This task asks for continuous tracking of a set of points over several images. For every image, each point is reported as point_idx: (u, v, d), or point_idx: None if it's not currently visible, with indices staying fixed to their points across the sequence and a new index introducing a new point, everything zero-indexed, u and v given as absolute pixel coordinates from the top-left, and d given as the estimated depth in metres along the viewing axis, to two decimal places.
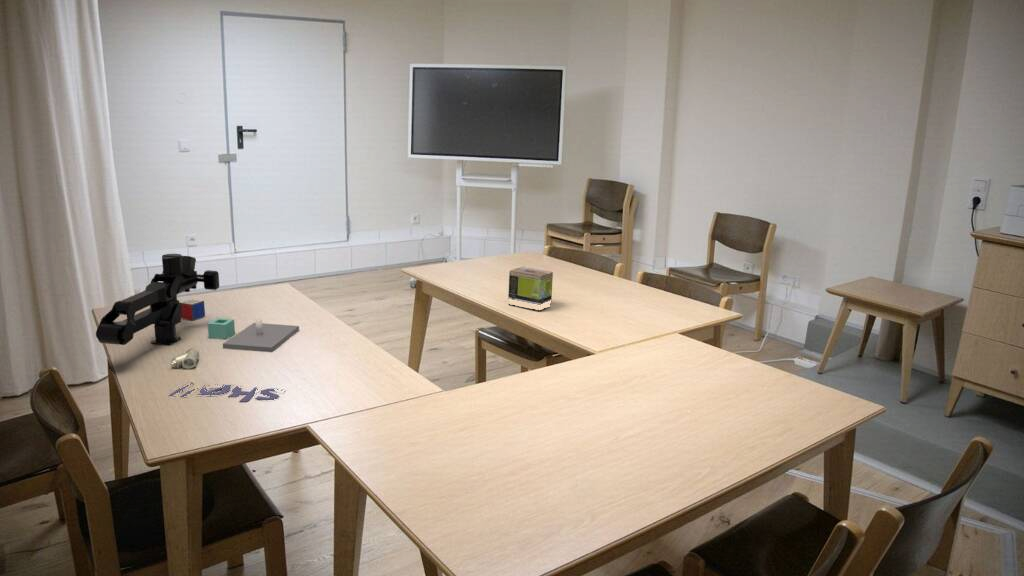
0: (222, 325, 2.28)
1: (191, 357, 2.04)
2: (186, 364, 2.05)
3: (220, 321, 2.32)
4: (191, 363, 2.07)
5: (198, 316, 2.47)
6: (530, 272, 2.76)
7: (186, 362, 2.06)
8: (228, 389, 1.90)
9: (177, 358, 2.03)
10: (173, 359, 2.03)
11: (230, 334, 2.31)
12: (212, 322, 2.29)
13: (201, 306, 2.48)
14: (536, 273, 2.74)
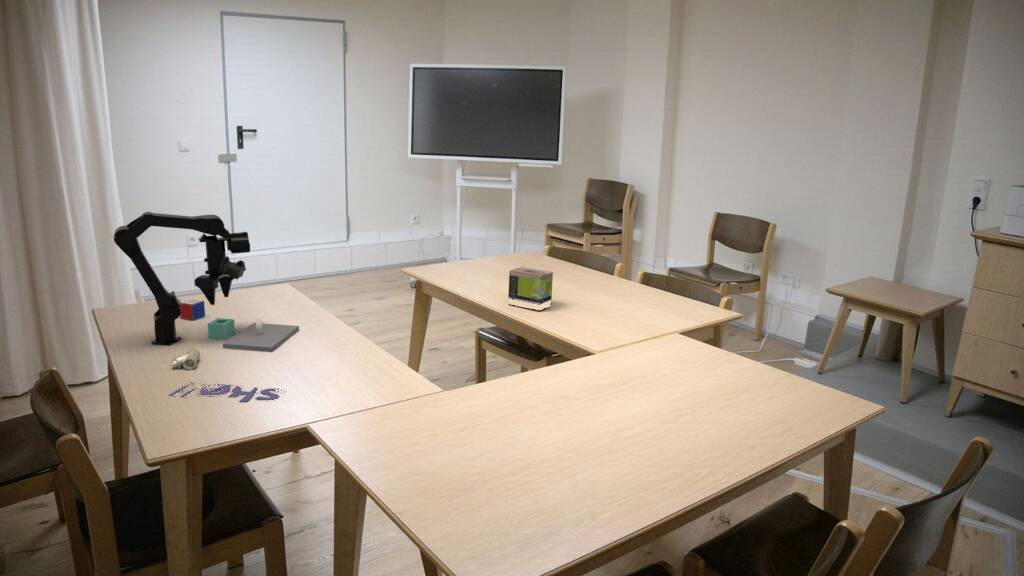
0: (222, 325, 2.28)
1: (192, 357, 2.03)
2: (187, 364, 2.04)
3: (220, 321, 2.32)
4: (192, 363, 2.06)
5: (198, 316, 2.47)
6: (530, 272, 2.76)
7: (187, 362, 2.05)
8: (228, 389, 1.90)
9: (178, 359, 2.03)
10: (174, 360, 2.03)
11: (230, 334, 2.31)
12: (212, 322, 2.29)
13: (201, 306, 2.48)
14: (536, 273, 2.74)
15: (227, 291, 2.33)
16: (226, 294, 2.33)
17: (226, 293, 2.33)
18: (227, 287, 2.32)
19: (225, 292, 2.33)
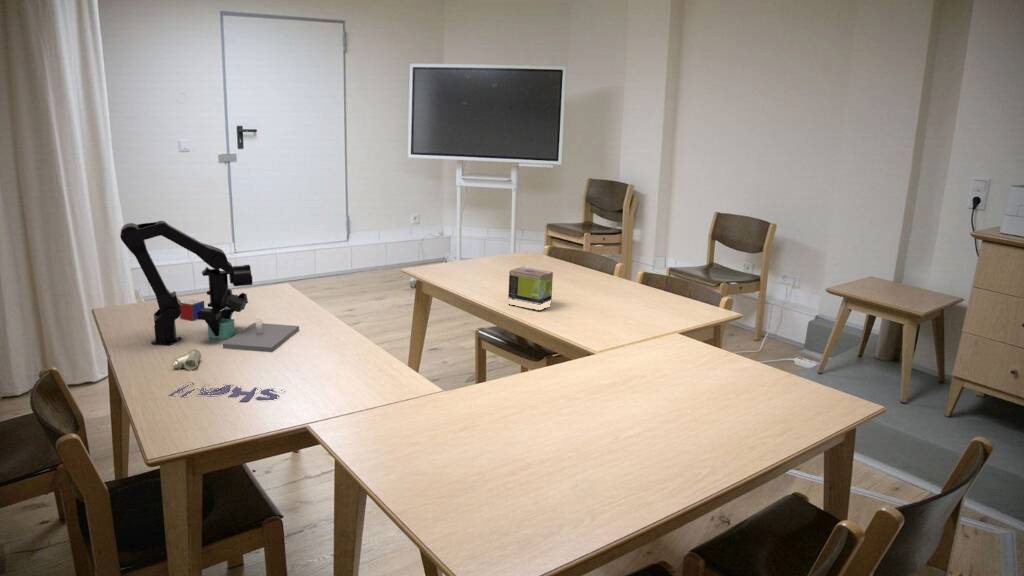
0: (222, 325, 2.28)
1: (193, 358, 2.03)
2: (188, 365, 2.04)
3: (220, 321, 2.32)
4: (193, 364, 2.06)
5: None
6: (530, 272, 2.76)
7: (188, 363, 2.05)
8: (228, 389, 1.90)
9: (179, 359, 2.03)
10: (175, 360, 2.03)
11: (230, 334, 2.31)
12: None
13: (201, 306, 2.48)
14: (536, 273, 2.74)
15: None
16: None
17: None
18: None
19: None
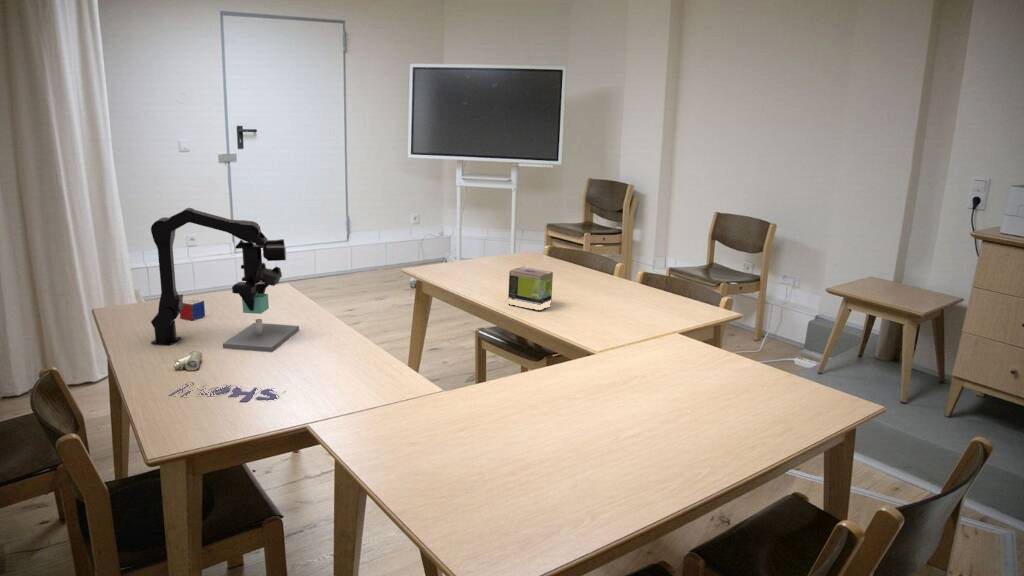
0: (257, 299, 2.24)
1: (194, 359, 2.03)
2: (189, 366, 2.04)
3: (254, 296, 2.29)
4: (194, 365, 2.06)
5: (198, 316, 2.47)
6: (530, 272, 2.76)
7: (189, 364, 2.05)
8: (228, 389, 1.90)
9: (180, 360, 2.02)
10: (176, 361, 2.02)
11: (264, 309, 2.28)
12: None
13: (201, 306, 2.48)
14: (536, 273, 2.74)
15: None
16: None
17: None
18: None
19: None
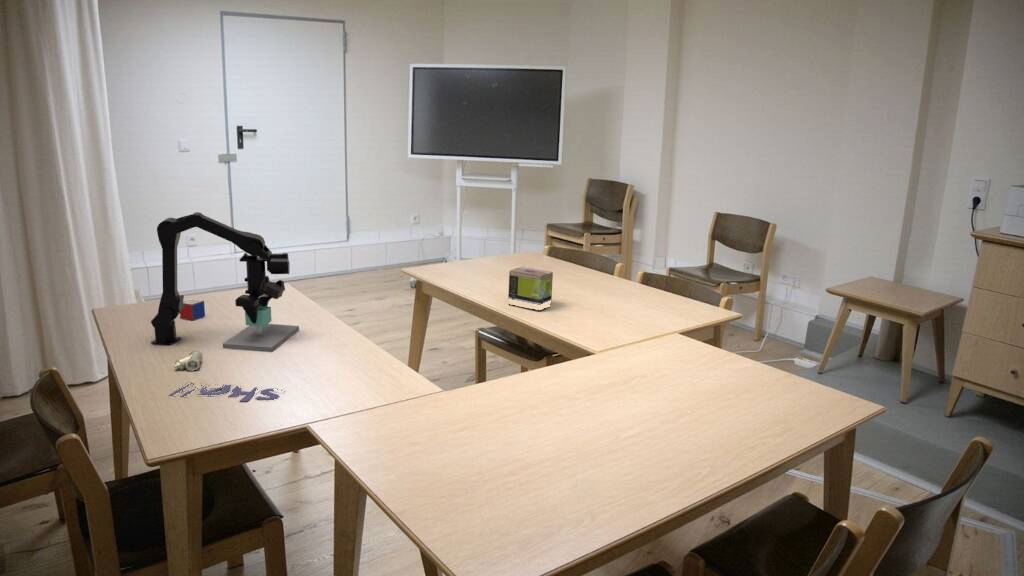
0: (260, 312, 2.25)
1: (195, 359, 2.02)
2: (190, 366, 2.03)
3: (257, 308, 2.30)
4: (195, 365, 2.05)
5: (198, 316, 2.47)
6: (530, 272, 2.76)
7: (190, 364, 2.04)
8: (228, 389, 1.90)
9: (181, 360, 2.02)
10: (177, 361, 2.02)
11: (267, 321, 2.29)
12: None
13: (201, 306, 2.48)
14: (536, 273, 2.74)
15: None
16: None
17: None
18: None
19: None
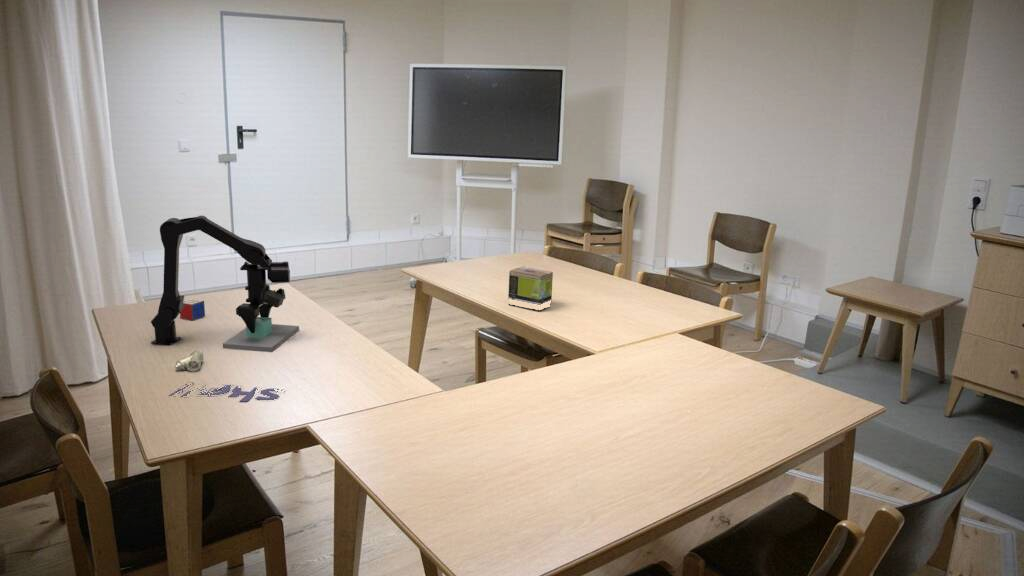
0: (260, 323, 2.26)
1: (196, 359, 2.02)
2: (190, 366, 2.03)
3: None
4: (195, 365, 2.05)
5: (198, 316, 2.47)
6: (530, 272, 2.76)
7: (190, 364, 2.04)
8: (228, 389, 1.90)
9: (181, 361, 2.02)
10: (177, 362, 2.02)
11: (268, 333, 2.30)
12: None
13: (201, 306, 2.48)
14: (536, 273, 2.74)
15: None
16: None
17: None
18: (266, 314, 2.34)
19: None
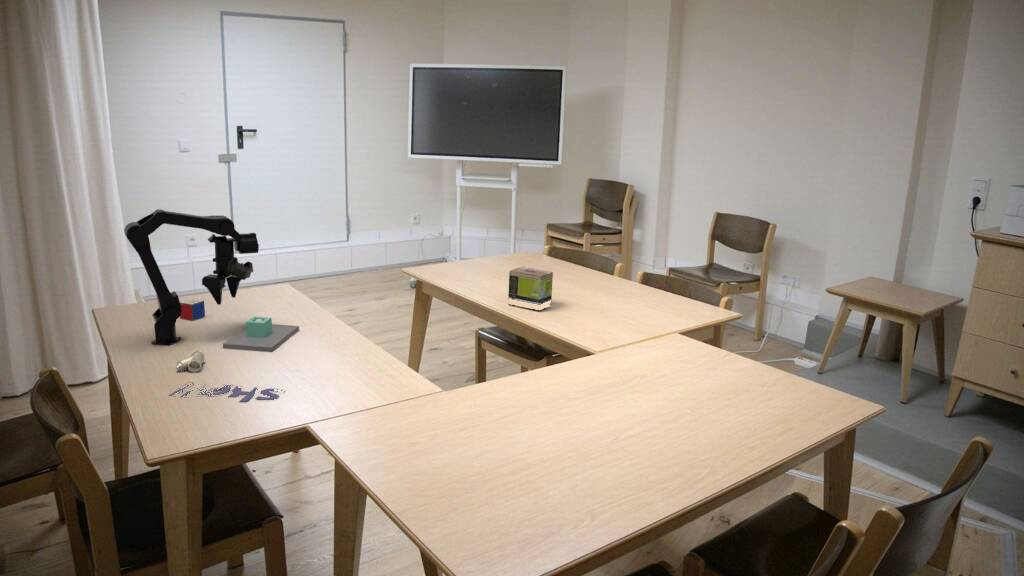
0: (260, 323, 2.26)
1: (197, 360, 2.02)
2: (192, 367, 2.03)
3: None
4: (196, 366, 2.05)
5: (198, 316, 2.47)
6: (530, 272, 2.76)
7: (191, 365, 2.04)
8: (228, 389, 1.90)
9: (182, 361, 2.01)
10: (178, 362, 2.01)
11: (268, 333, 2.30)
12: (250, 320, 2.28)
13: (201, 306, 2.48)
14: (536, 273, 2.74)
15: (234, 291, 2.35)
16: (233, 294, 2.36)
17: (233, 293, 2.36)
18: (235, 287, 2.35)
19: (232, 292, 2.36)
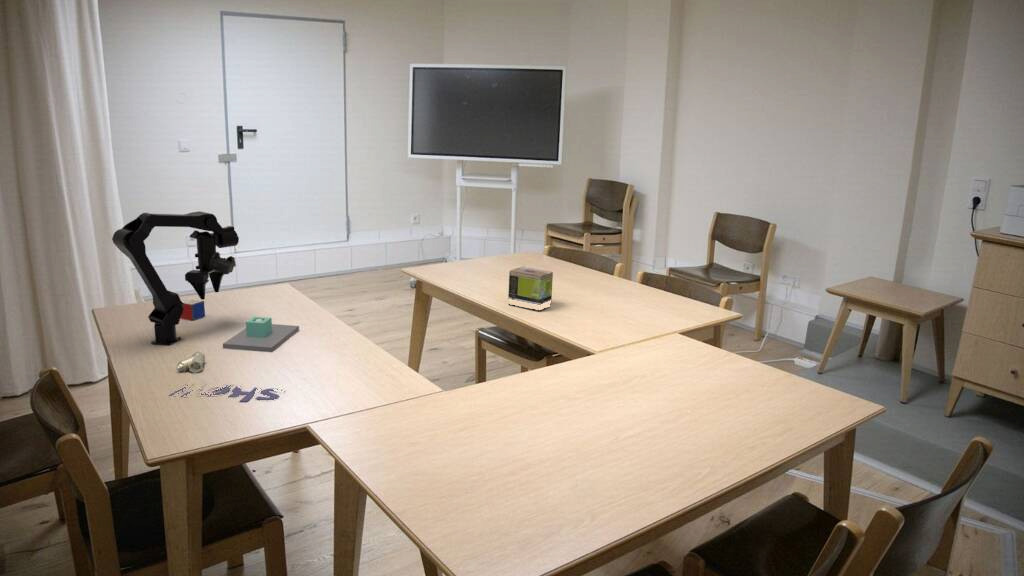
0: (260, 323, 2.26)
1: (198, 360, 2.01)
2: (192, 368, 2.02)
3: None
4: (197, 366, 2.04)
5: (198, 316, 2.47)
6: (530, 272, 2.76)
7: (192, 366, 2.03)
8: (228, 389, 1.90)
9: (183, 362, 2.01)
10: (179, 363, 2.01)
11: (268, 333, 2.30)
12: (250, 320, 2.28)
13: (201, 306, 2.48)
14: (536, 273, 2.74)
15: (217, 286, 2.38)
16: (216, 289, 2.38)
17: (216, 288, 2.38)
18: (217, 282, 2.38)
19: (215, 287, 2.38)
